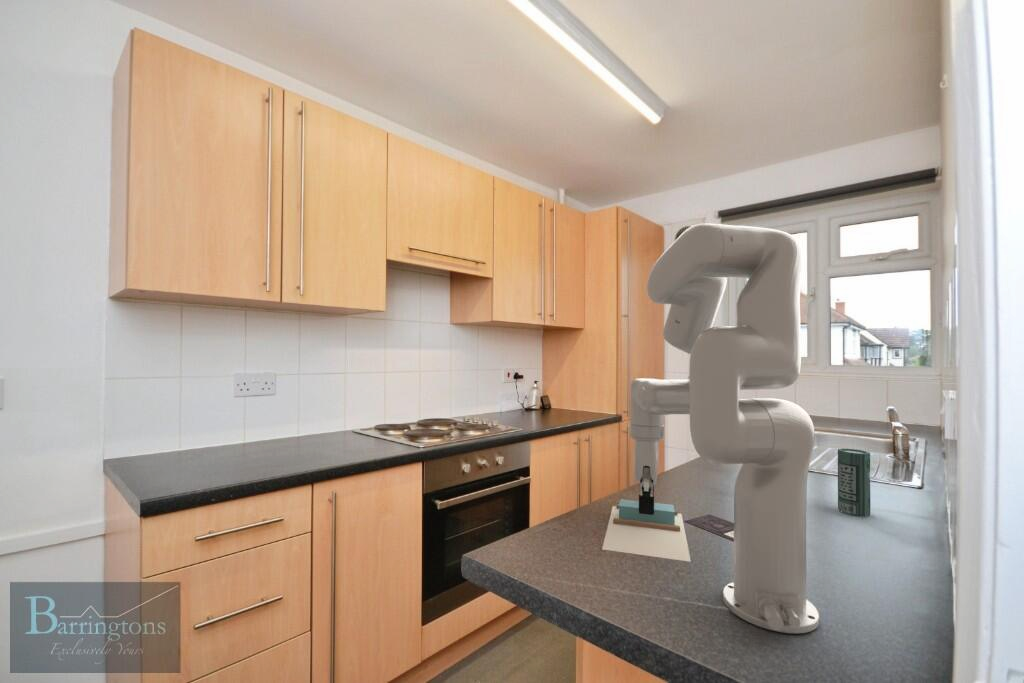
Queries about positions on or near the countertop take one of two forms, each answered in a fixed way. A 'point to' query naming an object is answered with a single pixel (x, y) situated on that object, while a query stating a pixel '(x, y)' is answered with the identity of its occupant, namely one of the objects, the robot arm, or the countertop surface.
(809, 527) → the countertop surface
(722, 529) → the chocolate bar
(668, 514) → the teal bar on plank
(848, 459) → the can
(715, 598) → the countertop surface
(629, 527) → the cream base board
